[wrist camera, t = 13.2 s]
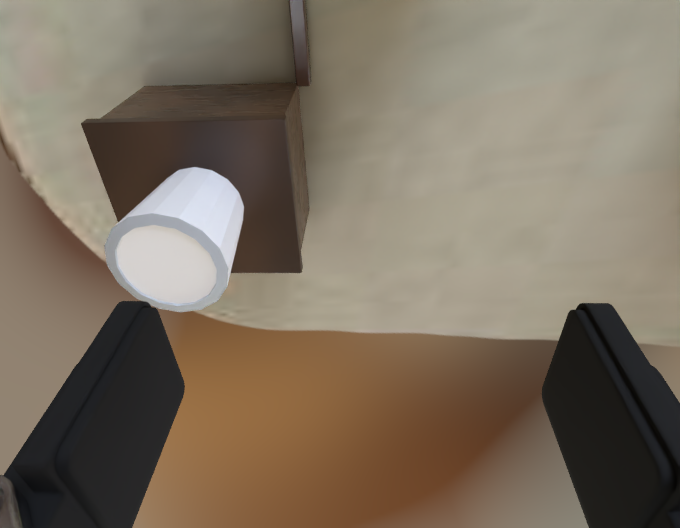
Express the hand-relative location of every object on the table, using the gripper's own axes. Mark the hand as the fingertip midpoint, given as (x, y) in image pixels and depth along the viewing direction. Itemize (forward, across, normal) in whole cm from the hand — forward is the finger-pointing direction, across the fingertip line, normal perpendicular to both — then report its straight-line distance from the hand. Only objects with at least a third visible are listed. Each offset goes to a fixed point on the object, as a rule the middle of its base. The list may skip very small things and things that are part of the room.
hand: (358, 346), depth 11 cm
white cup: (+20, +11, +7) cm, 23 cm away
